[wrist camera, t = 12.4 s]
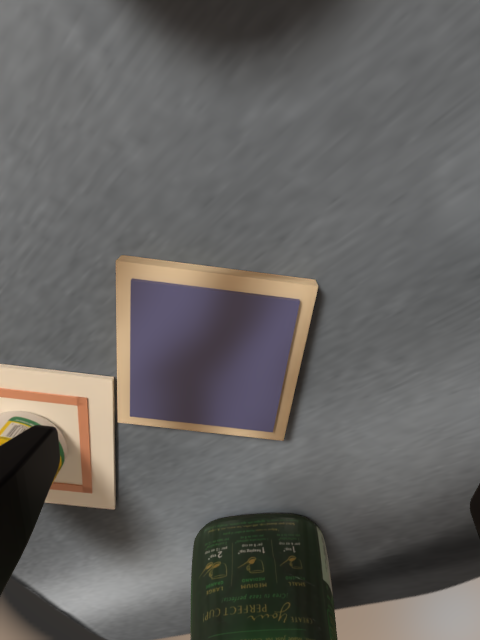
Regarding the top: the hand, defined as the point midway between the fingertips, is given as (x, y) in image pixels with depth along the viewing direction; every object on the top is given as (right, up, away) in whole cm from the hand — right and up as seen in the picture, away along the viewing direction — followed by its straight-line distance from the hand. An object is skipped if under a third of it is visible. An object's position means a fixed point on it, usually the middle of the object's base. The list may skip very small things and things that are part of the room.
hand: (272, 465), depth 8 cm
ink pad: (-2, +1, +14) cm, 14 cm away
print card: (-14, -5, +17) cm, 23 cm away
